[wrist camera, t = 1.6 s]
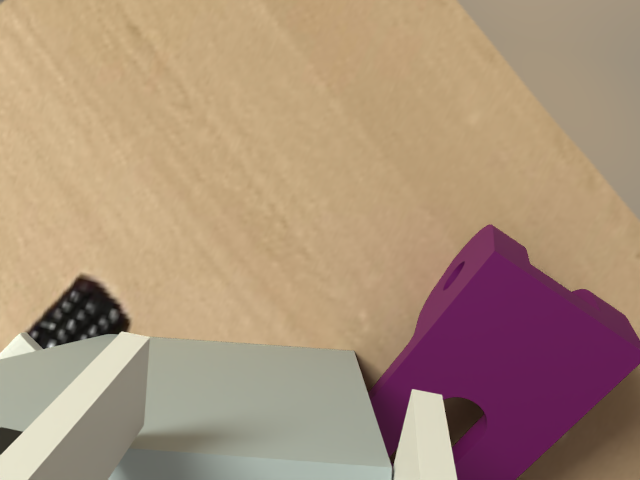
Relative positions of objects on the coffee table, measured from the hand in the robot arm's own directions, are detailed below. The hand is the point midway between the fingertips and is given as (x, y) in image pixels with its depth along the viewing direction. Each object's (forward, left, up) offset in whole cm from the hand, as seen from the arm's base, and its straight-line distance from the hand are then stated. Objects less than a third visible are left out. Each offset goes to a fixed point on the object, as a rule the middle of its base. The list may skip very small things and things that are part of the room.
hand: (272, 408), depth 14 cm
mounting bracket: (-3, -10, -24) cm, 26 cm away
